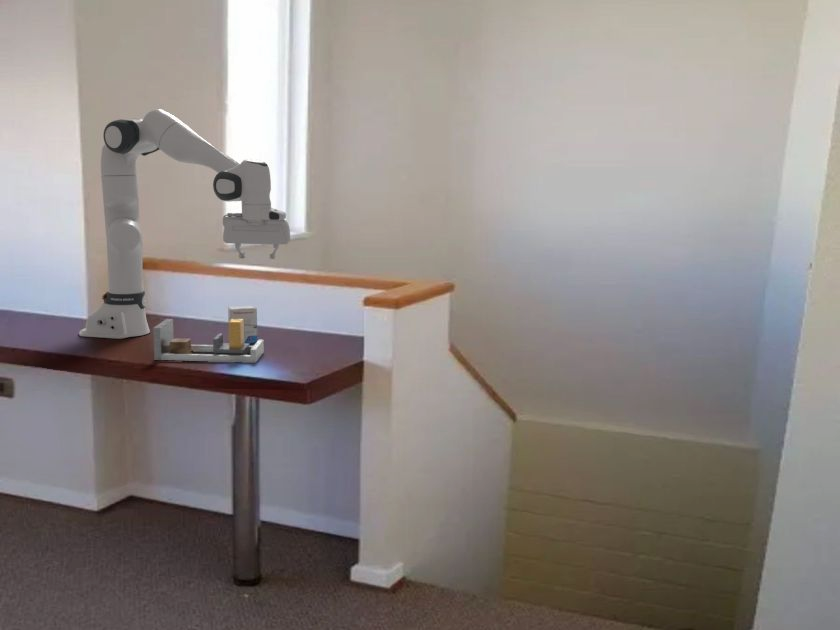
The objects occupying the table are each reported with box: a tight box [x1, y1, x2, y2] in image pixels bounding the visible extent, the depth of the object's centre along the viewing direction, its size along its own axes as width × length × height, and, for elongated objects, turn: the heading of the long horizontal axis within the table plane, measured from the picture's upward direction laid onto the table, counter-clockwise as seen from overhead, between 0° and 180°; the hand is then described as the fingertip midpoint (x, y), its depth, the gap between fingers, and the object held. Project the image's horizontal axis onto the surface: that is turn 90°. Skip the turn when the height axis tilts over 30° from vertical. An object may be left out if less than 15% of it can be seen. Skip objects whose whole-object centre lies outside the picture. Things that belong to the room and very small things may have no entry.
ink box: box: [227, 305, 258, 345], centre depth 290 cm, size 9×5×12 cm, turn 112°
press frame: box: [152, 318, 265, 364], centre depth 270 cm, size 30×14×10 cm, turn 90°
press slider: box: [212, 319, 251, 355], centre depth 270 cm, size 9×9×11 cm
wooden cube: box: [170, 337, 192, 354], centre depth 271 cm, size 5×5×5 cm
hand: (257, 258), depth 275 cm, fingers open, 8 cm apart
